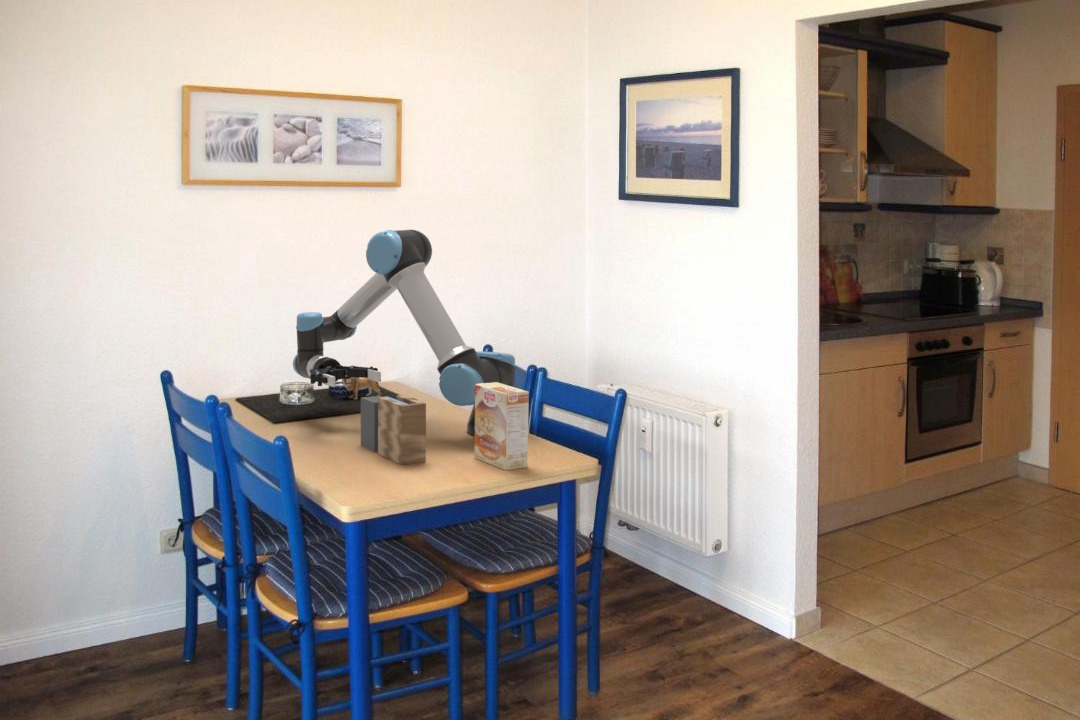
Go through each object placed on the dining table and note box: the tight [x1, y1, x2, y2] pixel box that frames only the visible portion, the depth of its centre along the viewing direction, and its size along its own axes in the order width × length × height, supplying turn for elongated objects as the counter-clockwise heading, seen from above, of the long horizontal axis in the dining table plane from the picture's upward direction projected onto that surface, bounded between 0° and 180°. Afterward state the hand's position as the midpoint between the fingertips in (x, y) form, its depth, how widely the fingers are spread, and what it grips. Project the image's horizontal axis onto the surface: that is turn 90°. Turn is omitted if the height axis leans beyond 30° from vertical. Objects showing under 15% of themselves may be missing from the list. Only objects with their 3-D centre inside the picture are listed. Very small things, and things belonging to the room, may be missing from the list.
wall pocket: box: [377, 394, 427, 466], centre depth 277 cm, size 13×7×15 cm, turn 36°
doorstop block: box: [360, 395, 382, 452], centre depth 288 cm, size 8×6×13 cm
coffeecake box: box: [473, 382, 530, 471], centre depth 274 cm, size 15×7×20 cm, turn 35°
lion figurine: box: [341, 375, 383, 400], centre depth 355 cm, size 15×5×9 cm, turn 130°
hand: (357, 379), depth 295 cm, fingers open, 13 cm apart
